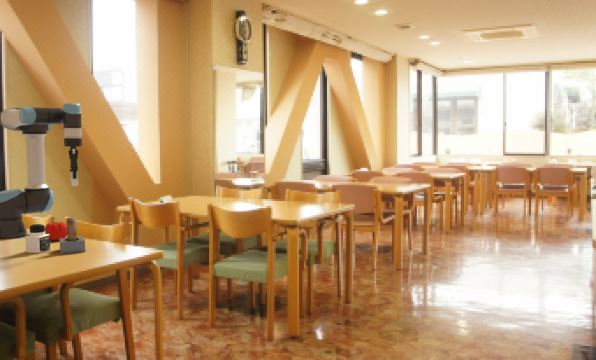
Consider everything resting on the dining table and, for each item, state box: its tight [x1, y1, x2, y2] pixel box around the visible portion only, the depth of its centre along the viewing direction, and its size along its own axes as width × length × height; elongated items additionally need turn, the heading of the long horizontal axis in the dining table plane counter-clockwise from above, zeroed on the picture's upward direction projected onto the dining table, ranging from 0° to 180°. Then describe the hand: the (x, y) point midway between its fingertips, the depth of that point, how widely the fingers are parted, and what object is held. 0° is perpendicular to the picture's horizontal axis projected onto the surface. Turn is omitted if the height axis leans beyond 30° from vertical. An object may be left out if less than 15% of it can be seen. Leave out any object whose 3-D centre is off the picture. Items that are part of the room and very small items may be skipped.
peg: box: [65, 217, 78, 241], centre depth 242 cm, size 4×4×14 cm
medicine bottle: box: [24, 223, 51, 254], centre depth 241 cm, size 7×7×12 cm
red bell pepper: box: [44, 221, 67, 241], centre depth 267 cm, size 11×11×9 cm
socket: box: [58, 236, 86, 255], centre depth 242 cm, size 10×10×5 cm
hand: (74, 184), depth 250 cm, fingers open, 13 cm apart
